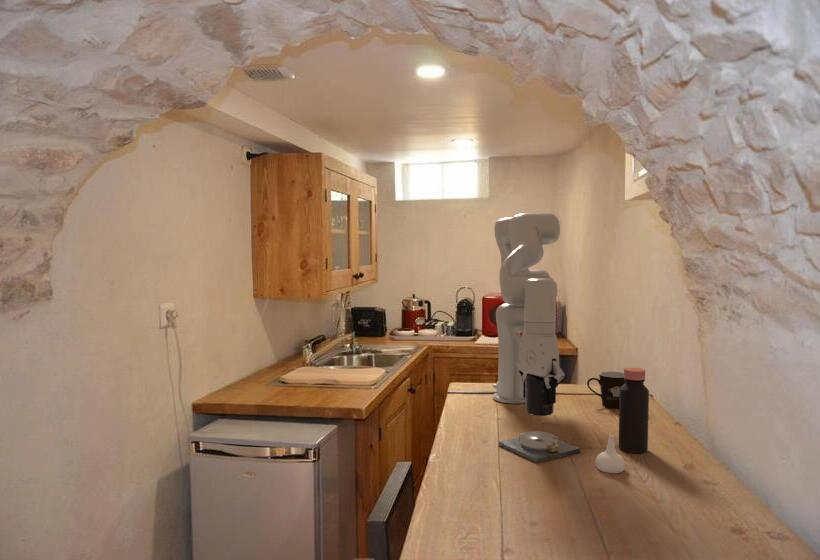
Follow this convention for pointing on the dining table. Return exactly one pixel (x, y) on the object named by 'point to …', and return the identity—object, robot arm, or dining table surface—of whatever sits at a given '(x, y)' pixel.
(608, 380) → the coffee mug
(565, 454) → the dish on grey tray
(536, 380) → the supplement bottle
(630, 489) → the dining table surface
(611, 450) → the garlic bulb
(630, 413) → the vinegar
